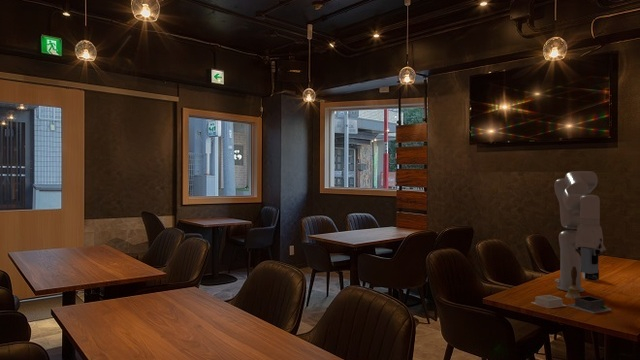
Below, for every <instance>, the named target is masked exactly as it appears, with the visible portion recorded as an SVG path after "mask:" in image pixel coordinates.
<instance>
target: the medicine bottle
mask: <svg viewBox="0 0 640 360" xmlns="http://www.w3.org/2000/svg"><path fill="white" fill-rule="evenodd" d="M582 279H583V280H584V281H589V282H599V281H600V272H599V273H591V274H588V273H583V272H582Z"/></svg>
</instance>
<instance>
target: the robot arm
mask: <svg viewBox="0 0 640 360" xmlns="http://www.w3.org/2000/svg"><path fill="white" fill-rule="evenodd" d="M598 183H599V182H598V176H597V174H596V173H595V172H594V171H592V170H591V171H590V170H589V171H588V170H585V171H584V170H578V171H577V170H575V171H573V170H572V171H569V172H567V173H566V174H565V176H564V178H557V179H556V180H555V181H554V184H553V185H554V187H553V188H554V193H555V196H556V198H557V200H558V204H559V215H560V216H559V217H560V225H561V226H562V227H563V228H565V229H574V230H562V231H560V232H559V234H558V244H559V252H560V255H559V256H560V264H559V265H560V267H559V268H560V271H559V272H560V275H559V276H560V278H556V279H555V280H554V283H557V285H556V288H557V289H558V290H560V291H564V292H568V289H569V287H571V286H572V277H571V270H572V268H573V267H576V270H577V277H576V287H577V288H579V293H583V292H585V288H584V287H582V286H581V285H582V272H581V248H583V247H584V248H591V249H592V252H593V255H592V264H598V255H599V256H600V254H601V253H603V252H604V251H607V248H606V247H605V245H604V236H603V229H602V226H601V225H600V224H601V223H600V222H601V221H600V218H601V214H600V212H601V210H600V208H601V203H600V202H601V201H600V197H599V196H598V195H596V194H591V193H592V191H593V190H594V189H595V188H596V187H597V185H598ZM575 229H576V230H575ZM577 250H578V251H579V252H578V251H577ZM579 253H580V254H579Z"/></svg>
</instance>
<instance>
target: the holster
mask: <svg viewBox="0 0 640 360" xmlns="http://www.w3.org/2000/svg"><path fill="white" fill-rule="evenodd" d="M534 299H535V301H531V302H530V303H531V304H533V305H536V306H539V307H543V308H545V309H553V308H555V309H556V308H562V307H568V304H567V305H566V304H564V303H563V300H564V299H563V297H562V298H561V297H559V296H556V295H555V296H554V295H551V294H547V295H538V296H535V297H534Z"/></svg>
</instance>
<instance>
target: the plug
mask: <svg viewBox="0 0 640 360" xmlns="http://www.w3.org/2000/svg"><path fill="white" fill-rule="evenodd" d="M592 255H593V252H592V249H591V248H584V247H583V248H581V253H580V257H581V273H582V274H583V273H588V274H591V273H599V274H600V269H599V265H600V264H599V263H600V262H599V260H600V259H599V256H600V255H598V264H592Z"/></svg>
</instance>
